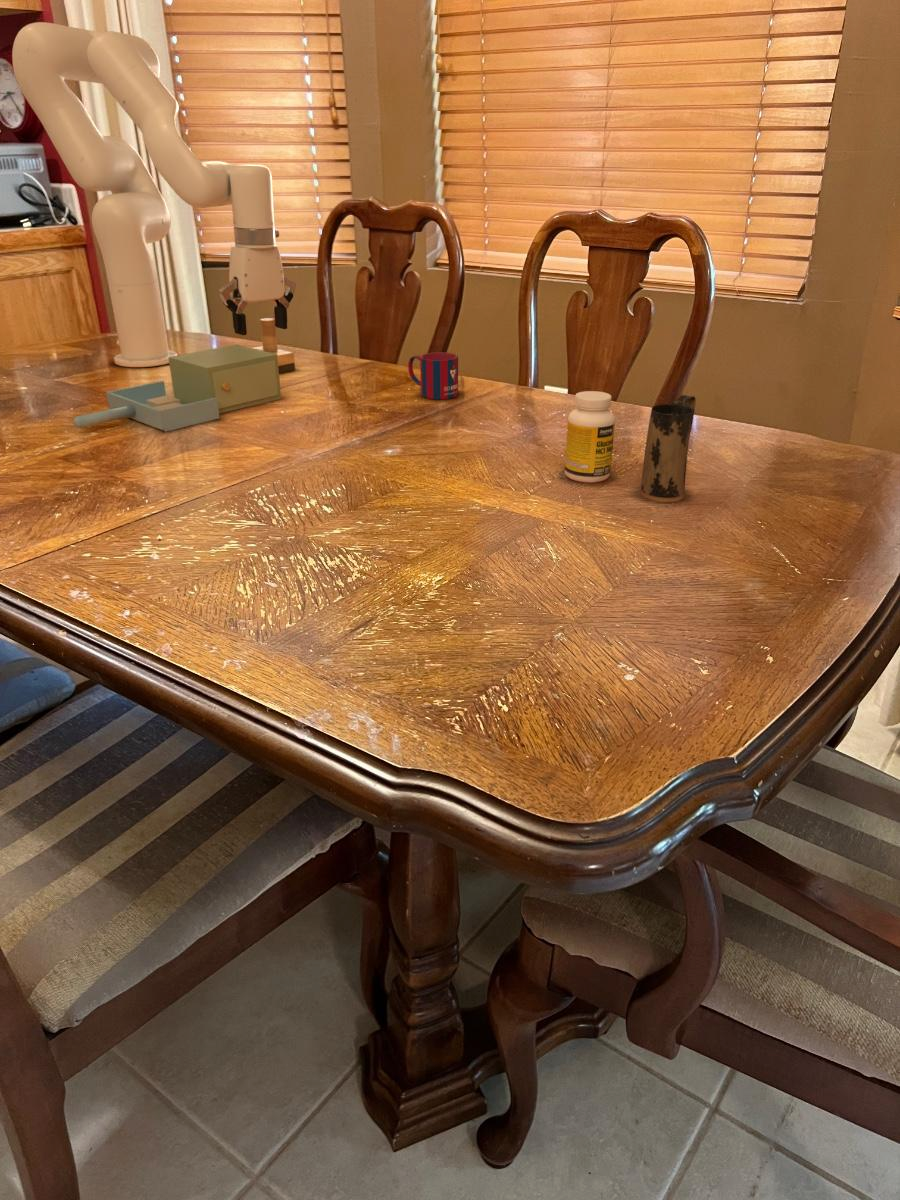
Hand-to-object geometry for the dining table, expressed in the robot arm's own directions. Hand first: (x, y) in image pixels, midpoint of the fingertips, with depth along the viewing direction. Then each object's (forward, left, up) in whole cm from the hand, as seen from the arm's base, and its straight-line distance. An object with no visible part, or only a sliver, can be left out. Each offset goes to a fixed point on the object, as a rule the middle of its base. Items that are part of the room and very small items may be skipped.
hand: (261, 331), depth 170 cm
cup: (+39, +9, -7) cm, 41 cm away
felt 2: (+19, -32, -5) cm, 37 cm away
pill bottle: (+85, -8, -7) cm, 86 cm away
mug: (+96, -6, -7) cm, 97 cm away
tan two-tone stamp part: (+1, +1, -7) cm, 7 cm away
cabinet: (+16, -19, -7) cm, 26 cm away
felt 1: (+14, -30, -5) cm, 34 cm away
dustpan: (+16, -37, -7) cm, 41 cm away
